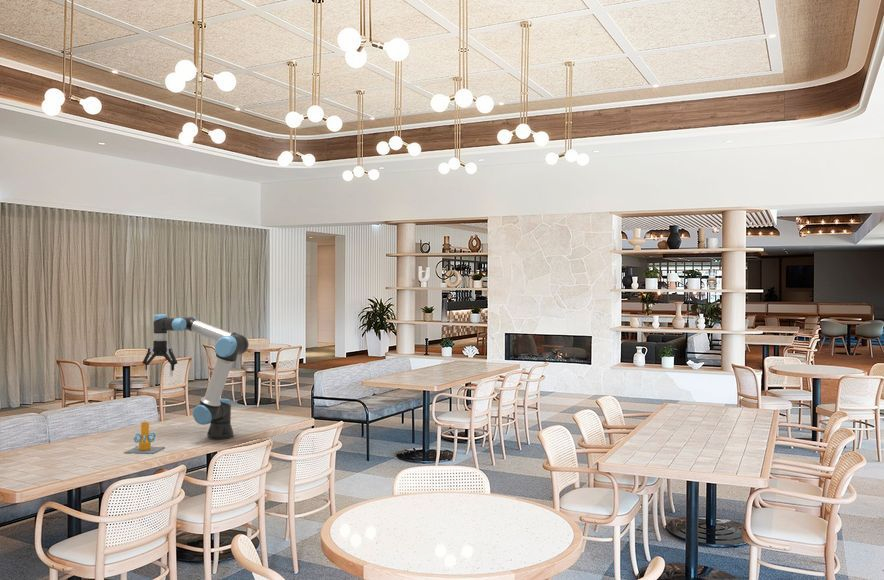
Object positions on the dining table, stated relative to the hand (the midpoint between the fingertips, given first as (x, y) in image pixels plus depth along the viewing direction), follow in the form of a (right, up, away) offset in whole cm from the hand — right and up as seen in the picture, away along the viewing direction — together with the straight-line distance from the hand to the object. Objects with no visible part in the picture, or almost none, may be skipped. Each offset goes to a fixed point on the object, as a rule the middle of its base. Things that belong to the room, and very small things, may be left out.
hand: (159, 376), depth 418 cm
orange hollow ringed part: (+5, -36, -33) cm, 49 cm away
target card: (+5, -37, -33) cm, 50 cm away
